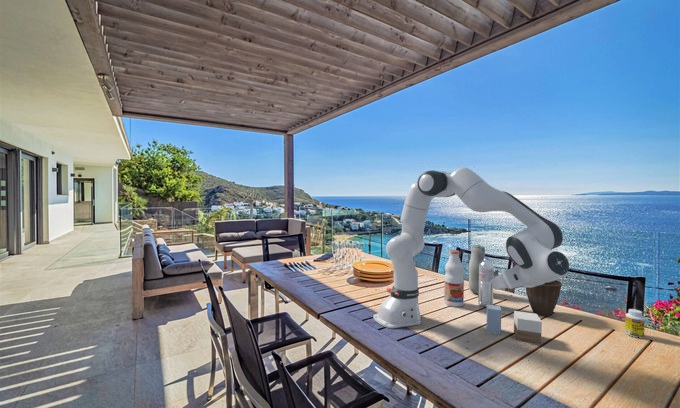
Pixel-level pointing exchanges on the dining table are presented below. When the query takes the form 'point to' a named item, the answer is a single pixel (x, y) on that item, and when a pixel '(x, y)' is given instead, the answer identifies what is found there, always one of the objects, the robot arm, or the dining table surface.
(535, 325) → the block top
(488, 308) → the tall block
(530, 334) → the block bottom
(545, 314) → the plant pot
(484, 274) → the water bottle
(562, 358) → the dining table surface
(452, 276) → the fruit juice
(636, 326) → the supplement bottle
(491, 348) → the dining table surface
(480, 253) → the grey thermos flask
